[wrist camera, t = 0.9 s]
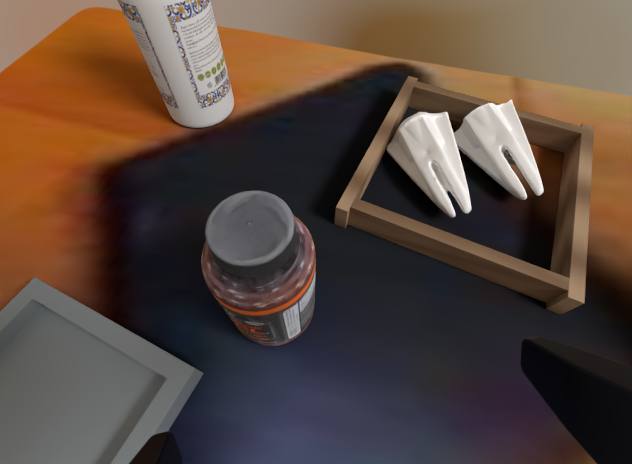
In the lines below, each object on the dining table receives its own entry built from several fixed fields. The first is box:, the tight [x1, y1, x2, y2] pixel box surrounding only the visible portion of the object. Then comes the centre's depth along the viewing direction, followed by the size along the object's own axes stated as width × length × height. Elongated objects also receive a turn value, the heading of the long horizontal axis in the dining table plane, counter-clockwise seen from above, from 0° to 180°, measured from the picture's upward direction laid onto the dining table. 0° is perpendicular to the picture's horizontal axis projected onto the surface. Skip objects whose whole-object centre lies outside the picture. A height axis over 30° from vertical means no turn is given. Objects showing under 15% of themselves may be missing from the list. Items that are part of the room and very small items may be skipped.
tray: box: [0, 277, 204, 464], centre depth 19 cm, size 14×14×2 cm
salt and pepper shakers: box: [386, 100, 544, 217], centre depth 29 cm, size 12×4×11 cm
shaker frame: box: [334, 76, 594, 315], centre depth 29 cm, size 19×18×2 cm
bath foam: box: [118, 0, 234, 128], centre depth 27 cm, size 7×7×20 cm
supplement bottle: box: [201, 191, 316, 346], centre depth 19 cm, size 6×6×11 cm
